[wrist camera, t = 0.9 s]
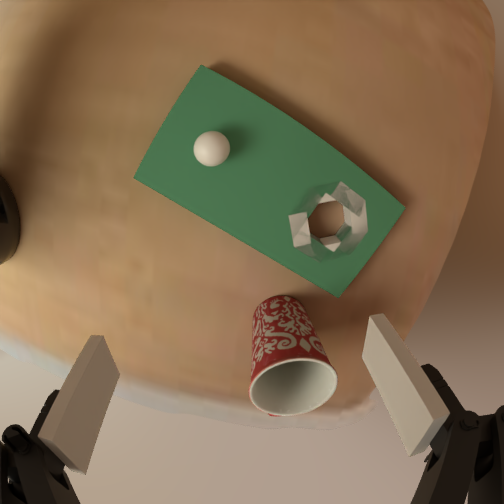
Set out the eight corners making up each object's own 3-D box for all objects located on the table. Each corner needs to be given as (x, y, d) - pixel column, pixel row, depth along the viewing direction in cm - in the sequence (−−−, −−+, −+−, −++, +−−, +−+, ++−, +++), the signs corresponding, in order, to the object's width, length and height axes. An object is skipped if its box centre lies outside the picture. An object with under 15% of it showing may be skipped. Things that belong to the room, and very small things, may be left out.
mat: (140, 174, 32) (133, 177, 29) (203, 69, 27) (200, 64, 25) (332, 288, 38) (338, 298, 36) (396, 203, 34) (405, 207, 32)
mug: (253, 282, 37) (260, 354, 25) (320, 294, 38) (352, 362, 26) (235, 356, 42) (234, 430, 29) (293, 363, 43) (308, 434, 30)
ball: (190, 154, 29) (183, 156, 25) (207, 125, 28) (203, 123, 24) (219, 171, 30) (216, 175, 26) (237, 142, 28) (236, 142, 25)
